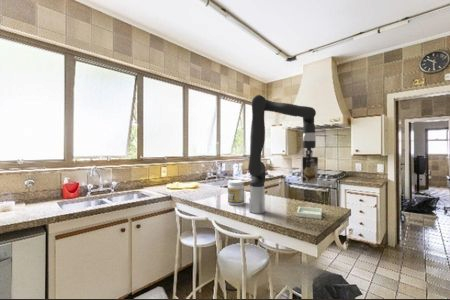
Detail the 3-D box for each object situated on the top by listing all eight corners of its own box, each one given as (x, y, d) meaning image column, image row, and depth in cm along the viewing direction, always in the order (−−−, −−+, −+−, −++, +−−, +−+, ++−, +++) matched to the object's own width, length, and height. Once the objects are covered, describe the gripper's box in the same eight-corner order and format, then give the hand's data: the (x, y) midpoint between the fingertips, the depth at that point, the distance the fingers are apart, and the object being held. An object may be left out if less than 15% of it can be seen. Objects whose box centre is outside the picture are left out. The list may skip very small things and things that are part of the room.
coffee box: (302, 183, 145) (302, 157, 144) (300, 181, 151) (300, 156, 150) (318, 183, 143) (318, 157, 143) (315, 181, 150) (315, 156, 149)
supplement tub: (224, 203, 176) (224, 181, 176) (235, 200, 185) (235, 179, 184) (236, 207, 168) (236, 183, 167) (247, 203, 176) (247, 181, 176)
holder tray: (296, 216, 144) (296, 212, 144) (298, 210, 157) (298, 206, 157) (321, 219, 139) (321, 214, 139) (321, 212, 152) (321, 208, 152)
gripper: (303, 140, 154) (303, 165, 155) (301, 140, 141) (301, 167, 142) (315, 140, 151) (315, 165, 152) (315, 140, 138) (315, 168, 139)
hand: (309, 166), depth 147 cm, fingers closed on coffee box, 7 cm apart
